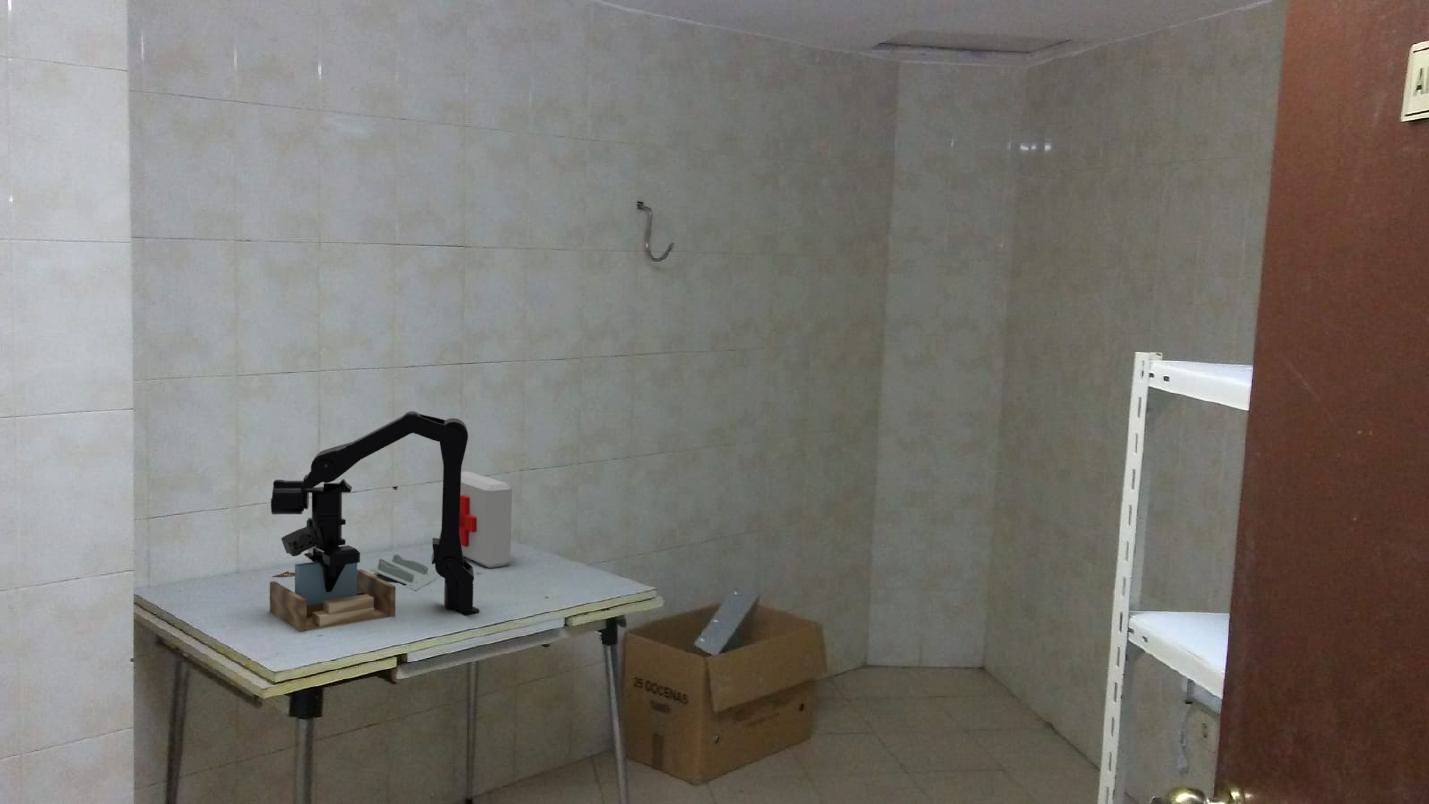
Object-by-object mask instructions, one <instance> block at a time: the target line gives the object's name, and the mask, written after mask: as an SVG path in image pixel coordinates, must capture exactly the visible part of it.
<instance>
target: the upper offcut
mask: <svg viewBox="0 0 1429 804" xmlns="http://www.w3.org/2000/svg"><path fill="white" fill-rule="evenodd" d="M369 608H374V598H373V597H371V596H369V595H367V594H366V595H359V596H353V597H346V598H340V599H333V600H327V601H323V611H324V612H325V613H327V614H329V615H332V614H338V613H344V612H350V611H356V610H362V609H369Z"/></svg>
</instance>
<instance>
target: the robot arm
mask: <svg viewBox="0 0 1429 804" xmlns="http://www.w3.org/2000/svg"><path fill="white" fill-rule="evenodd" d="M468 432H469V431H468V427H467V425H466V424H465V423H464V421H463V420H461V419H458V418H455V417H452V418H448V419H443V418H439V417H435V416H430V415H426V414H421V413H418V412H417V411H415V410H412V411H411V410H410V411H408V412H405V413H404V414H403V415H402V416H400V417H398V418H396V419H395V420H393V421H392V420H391V422H388V423H387V424H385V425H382V426H381V427H379V428H377V429H375V430H373V431H371V432H369V433H366V435H364V436H361V437H359V438H357V439H356V440H354V441H351V442H347V443H344V444H340V445H337V446H333V447H330V448H326V449H324V450H321V451H319V452H318V453H317V454H316V456H315V457H314V458H313V460H312V462H311V464H310V471H309V472H308V474H305V475H304V477H303V480H284V479H274V481H273V483H272V485H273V487H272V494H271V498H270V512H271V515H303V513H304V511H305V510H309V507H310V494H311V517H308V518H307V520H306V526H305V527H302V528H298V529H297V530H295V531H292V532H290V533H288V534H286V535H284V536H282V537H280V539H281V542H282V545H283V548H284V550H285V554H286V553H287V554H289V555H290V556H292V557H297V556H299V555H301V554H302V553H304V552H306V551H307V553H304V554H303V555H304V557H306V558H307V559H308V560H309V561H310V562H317V563H318V564H319V565H320V566H322V568H323V576H324V583H325V589H326V592H331V591H332V590H333V588H334V586H335V584H336V582H337V580H338V578H339V576H340V574H341V572H342V570H343V569H344V567H345V565H346V564H353V563H357V564H359V563H361V552H360V551H359V550H358V549H357V548H355V547H353V546H351V545H349V544H348V545H346V539H345V538H343V536H342V535H343V533H342V532H343V531H342V530H343V529H342V528H343V527H342V526H343V525H344V526H345V525H346V523H347V522H346V521H347V520H346V519H345V518H343V494H346V493H348V494H349V493H351V491H352V489H353V486H351V485H350V484H349V483H348V482H347V481H346V479H345V478H342V479H341V481H339V482H334V481H336V480H337V479H338V478H340V477H341V476H342V475H344V473H346V472H347V471H349V470H350V469H351V468H352V467H354V466H355V465H356V464H357V463H358V462H360V461H361V460H363V459H365V458H366V457H369V456H371V455H372V454H374V453H376V452H378V451H380V450H382V449H385V447H388V446H390V445H391V444H393V443H395V442H398V441H399V440H401V439H404V438H405V437H407V436H408V435H411V434H414V435H418V436H421V437H424V438H426V439H429V440H432V441H435V442H439V446H440V447H439V448H440V454H441V459H442V464H443V465H442V467H443V468H442V469H443V470H442V495H441V497H442V499H441V500H442V501H441V502H442V503H441V529H440V533H439V538H436V537H432V540H431V541H432V550H433V551H432V554H431V564H432V565H434V568H435V569H434V570H435V571H436V572H437V573H438V574H439V575H440V576H441V578H443V579H444V587H443V588H444V589H443V590H444V591H443V595H444V597H443V605H444V609H445V610H448V611H453V612H454V611H455V612H456V613H458V614H460V615H464V616H466V615H470V613H471V614H475V613H479V612H480V608H477V607H475V606H474V580H475V575H474V574H475V573H474V568H473V566H472V565H471V563H469V562H468V561H467V560H466V559H465V557H463V552H462V545H461V539H460V532H459V525H460V494H461V472H462V465H463V461H464V457H465V454H466V449H467V444H468V439H469V433H468ZM321 483H323V486H318V485H319V484H321ZM316 486H317V487H316Z"/></svg>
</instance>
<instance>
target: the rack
mask: <svg viewBox="0 0 1429 804" xmlns="http://www.w3.org/2000/svg"><path fill="white" fill-rule="evenodd" d="M396 587H397V586H395V585H393V584H391V583H389V582H387V581H385V580H384V579H381V578H380V577H378V576H376V575H374V574H372V573H369V572H367V571H365V570H364V569H361V568H360V569H357V596H359V595H366V594H367V595H369V596H371V597H373V598H374V618H370V619H364V620H358V621H352V622H346V623H340V624H335V625H329V626H323V627H319V626H317V625H316V624H314V623H313V622H312V620H313V612H318V611H323V603H320V604H314V605H307V600H306V599H304V598H302V597H301V596H299V595H297V594H296V593H295V591H292V590H290V589H289V588H287V587H285V586H284V585H282V584H281V583H279V582H278V581H275V580H273V581H270V582H269V612H270V613H272V615H274V616H275V617H277V618H278V619H281V620H282V621H283V622H285V623H287V624H289V626H291V627H292V628H294V629H295V630H297V631H299V632H300V633H304V632H310V631H315V630H316V631H317V630H321V629H328V628H333V627H339V626H344V625H351V624H356V623H363V622H369V621H374V620H381V619H386V618H392V617H396V593H397V592H396Z"/></svg>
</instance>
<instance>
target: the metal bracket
mask: <svg viewBox="0 0 1429 804" xmlns="http://www.w3.org/2000/svg"><path fill="white" fill-rule="evenodd" d="M428 570H429V567H428V566H427V565H425V564H422V563H420V562H418V561H415V560H411V559H403V557H401V555H399V554H394V555H393V557H392V558H389V559H388V560H385V559H383V558H379V559H378V564H377V565H375V566H374V567H372V568H370V571H371V572H374V573H373V575H374V576H376V577H378V576H380V575H381V576H383V577H386V578H389V579H391V580H394V581H395V582H399V583H401V584H403V585H404V587H405V588H407V589H410V590H412V591H414V592H419V591H420V589H421V588H422V587H423V586H425V585H426V586H428V585H430V584H432V583H433V582H434V581H433V580H435V579H437V578H438V577H441V576H440V575H439V574H438V573H437V572H436V569H432V570H430V571H428ZM441 578H442V577H441ZM437 580H438V579H437ZM432 581H433V582H432ZM435 581H436V580H435ZM431 582H432V583H431ZM426 586H425V587H426ZM423 588H424V587H423ZM421 590H422V589H421Z"/></svg>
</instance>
